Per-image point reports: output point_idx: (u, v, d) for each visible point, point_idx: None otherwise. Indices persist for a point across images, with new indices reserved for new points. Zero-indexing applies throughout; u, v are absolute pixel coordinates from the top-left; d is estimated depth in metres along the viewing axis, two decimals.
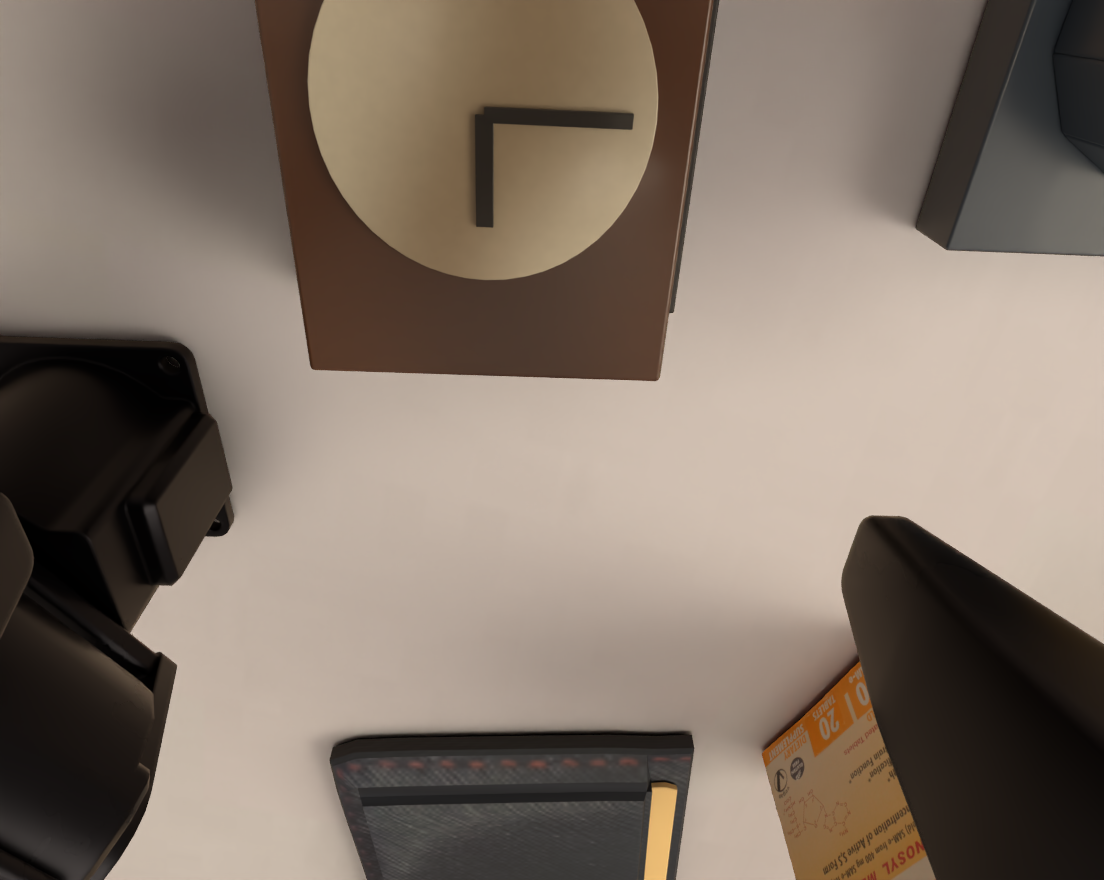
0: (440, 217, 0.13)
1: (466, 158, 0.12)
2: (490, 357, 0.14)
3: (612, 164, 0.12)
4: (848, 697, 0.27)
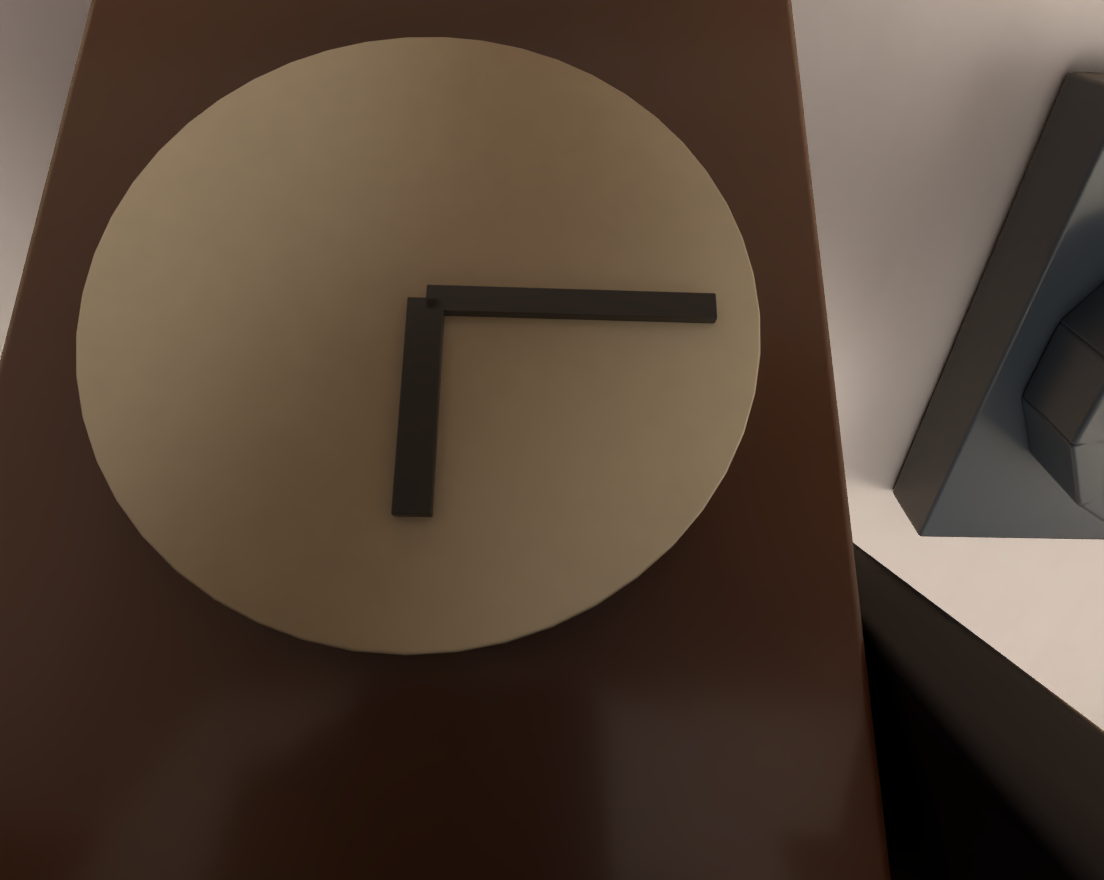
0: (314, 513, 0.06)
1: (383, 378, 0.06)
2: None
3: (685, 387, 0.06)
4: None
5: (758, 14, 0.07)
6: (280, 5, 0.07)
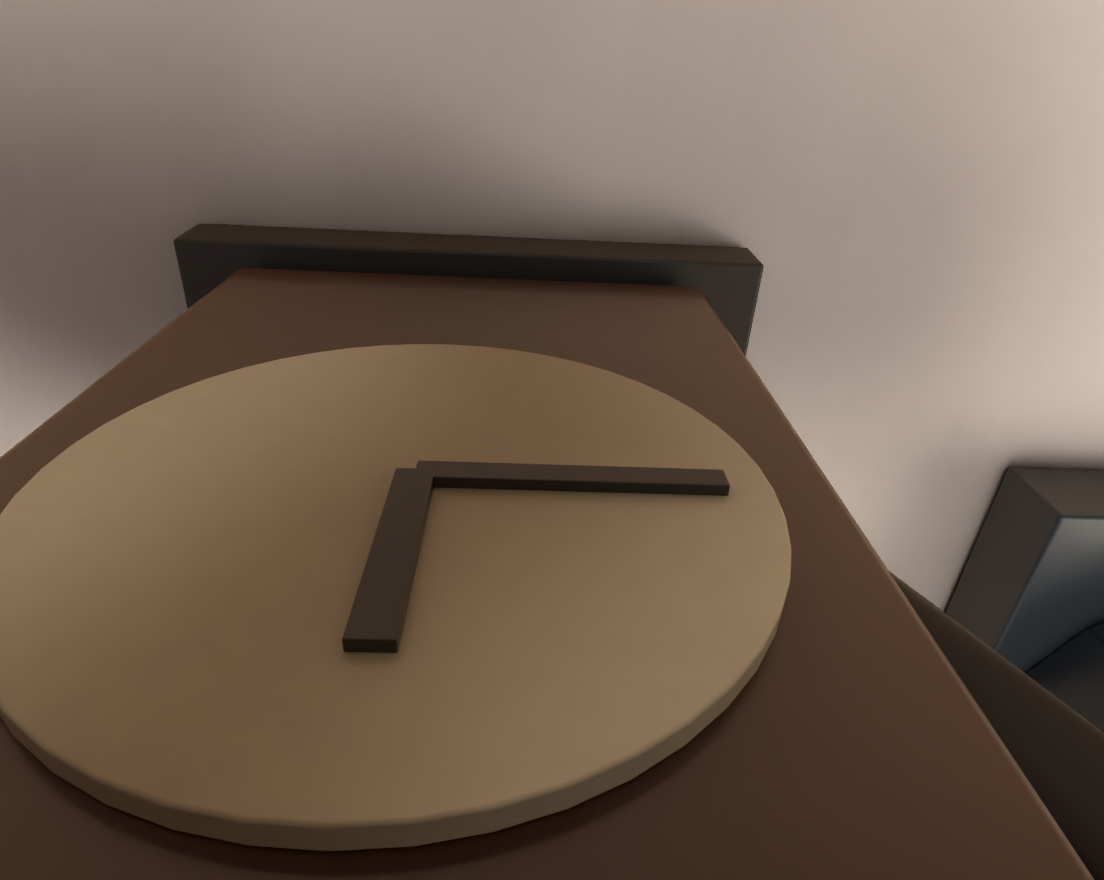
0: (233, 670, 0.04)
1: (357, 529, 0.05)
2: None
3: (709, 542, 0.05)
4: None
5: (712, 348, 0.09)
6: (313, 338, 0.08)
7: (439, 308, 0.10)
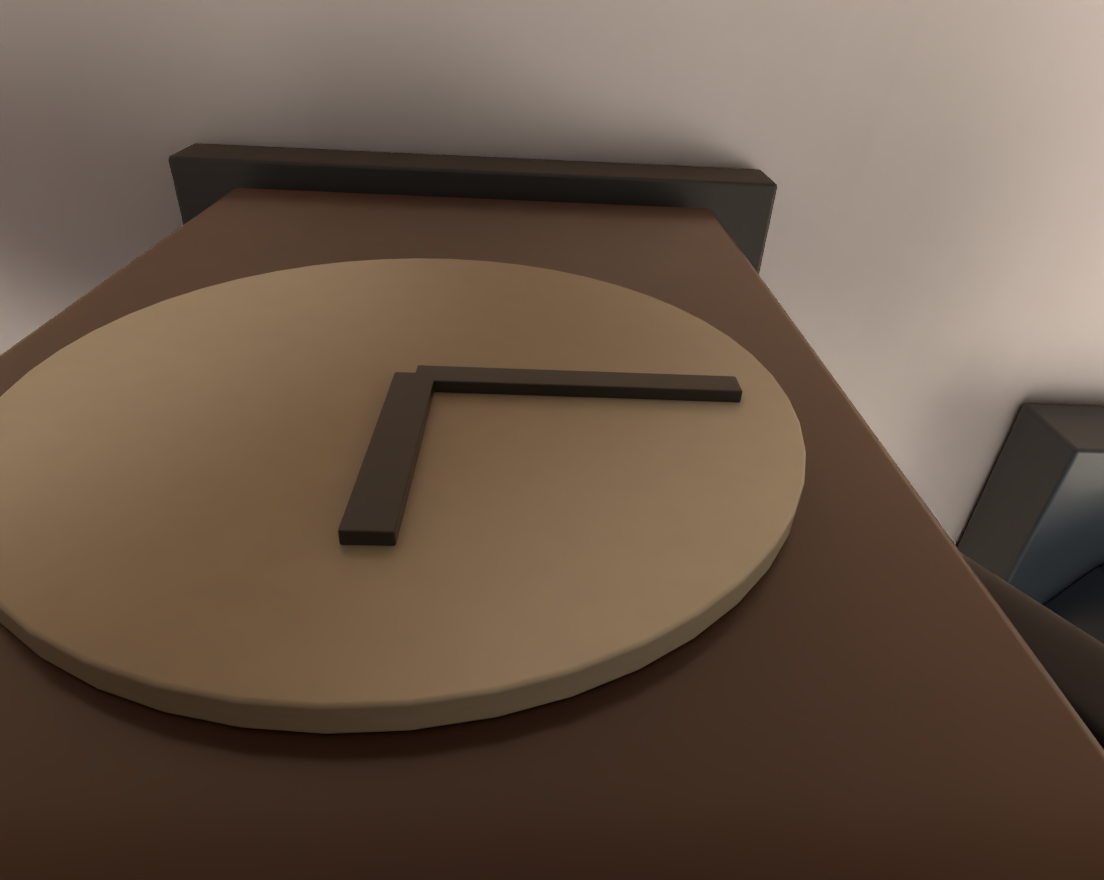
0: (227, 564, 0.04)
1: (354, 430, 0.05)
2: None
3: (721, 445, 0.05)
4: None
5: (725, 266, 0.08)
6: (311, 254, 0.08)
7: (441, 227, 0.09)
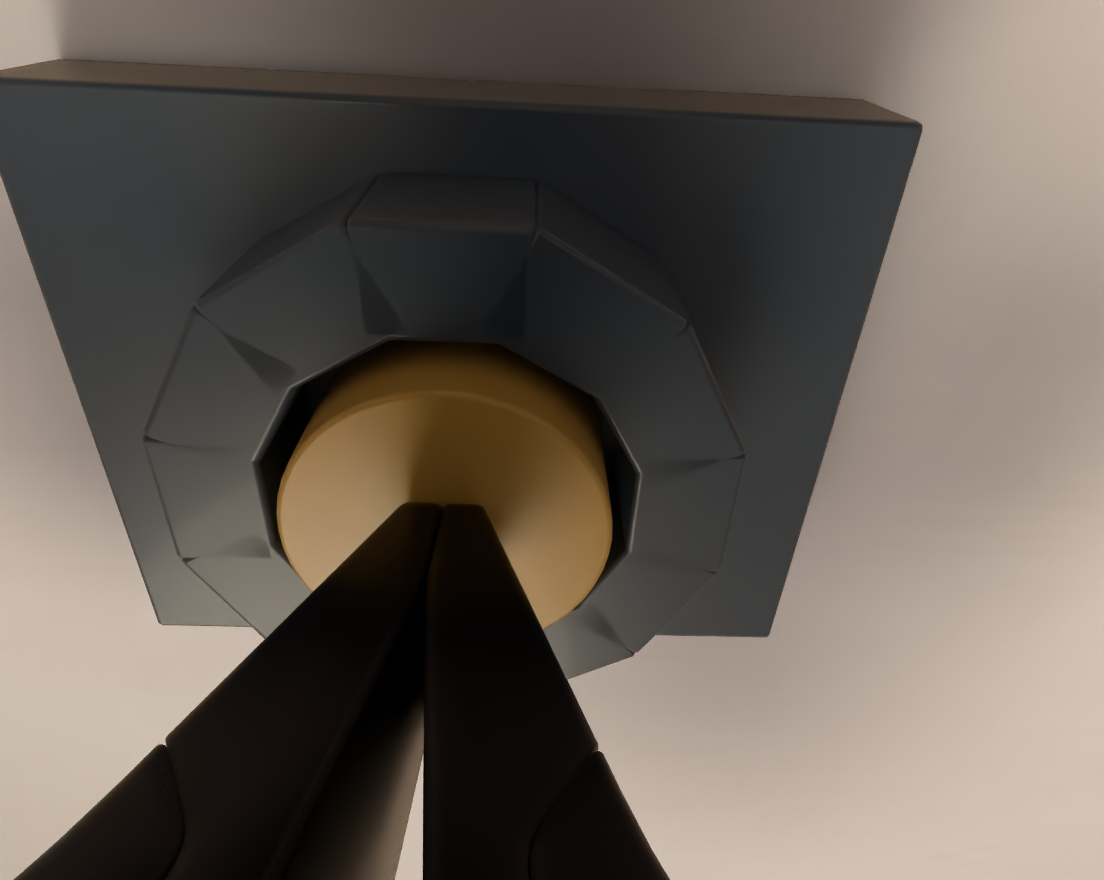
0: None
1: None
2: None
3: None
4: None
5: None
6: None
7: None
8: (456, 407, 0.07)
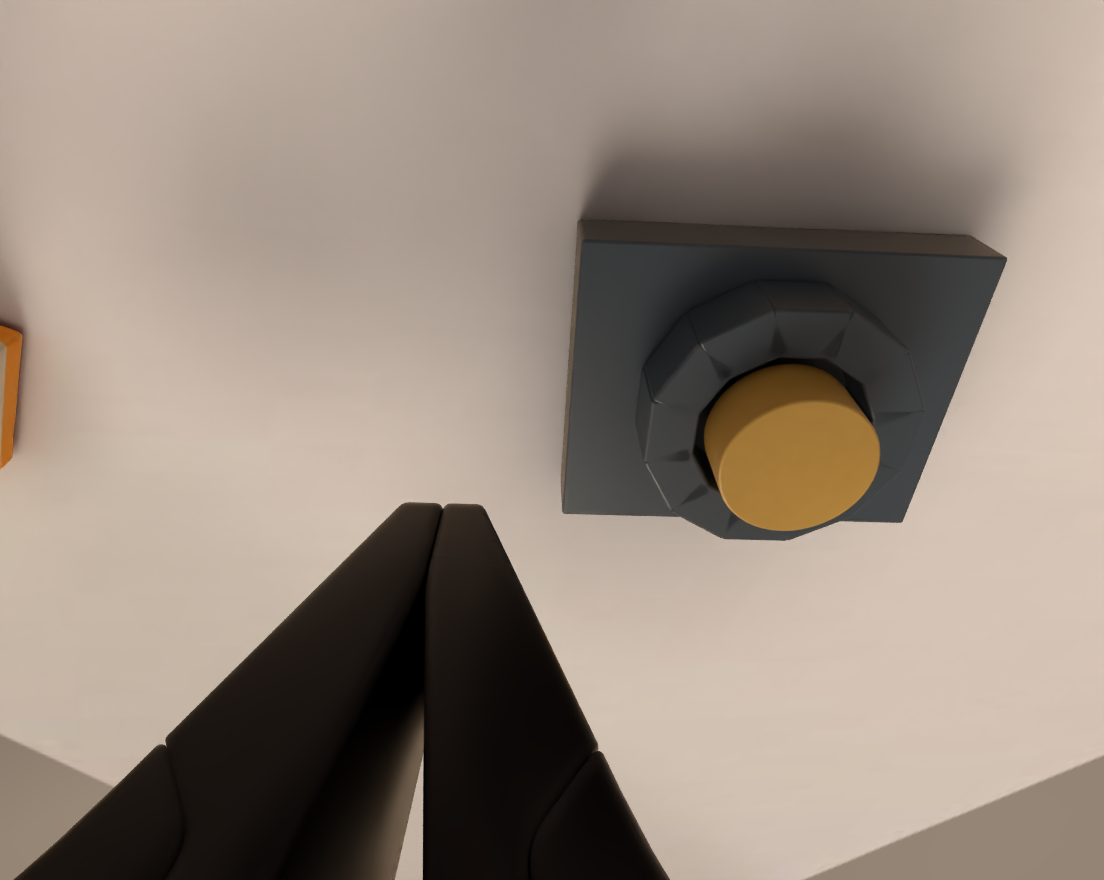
0: None
1: None
2: None
3: None
4: None
5: None
6: None
7: None
8: (824, 406, 0.15)
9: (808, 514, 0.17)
